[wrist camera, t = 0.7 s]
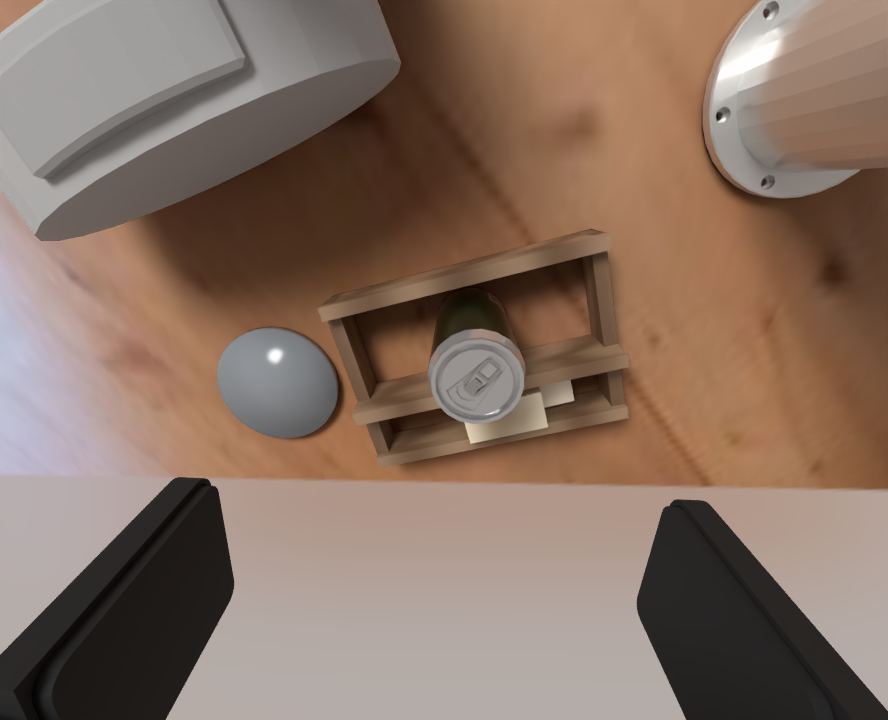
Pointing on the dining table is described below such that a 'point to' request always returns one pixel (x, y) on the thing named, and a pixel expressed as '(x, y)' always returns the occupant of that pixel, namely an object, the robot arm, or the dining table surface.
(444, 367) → the beer can
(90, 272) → the dining table surface
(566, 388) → the low offcut
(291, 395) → the grey glossy dome
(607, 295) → the rack
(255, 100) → the alarm clock
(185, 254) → the dining table surface
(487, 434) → the top offcut
